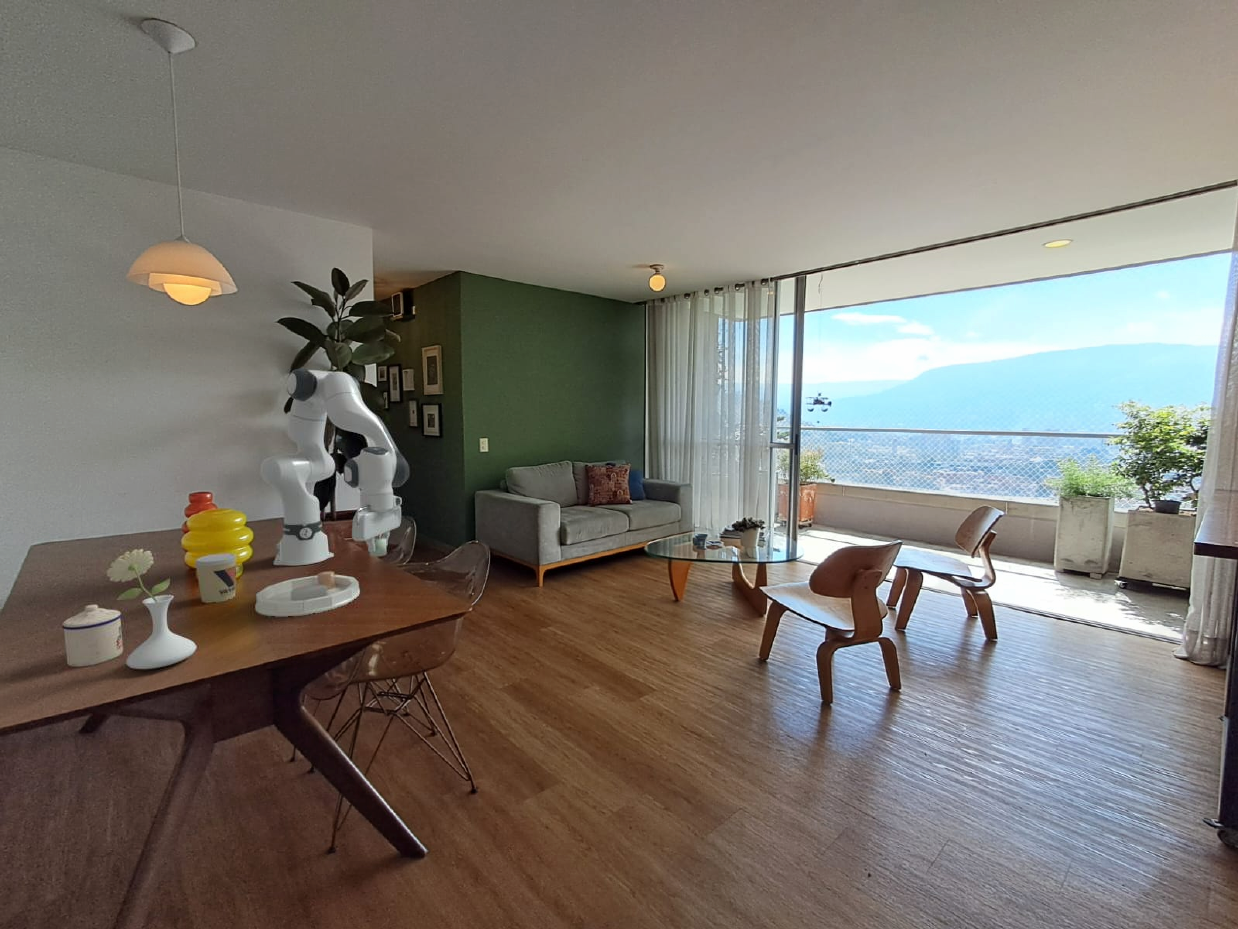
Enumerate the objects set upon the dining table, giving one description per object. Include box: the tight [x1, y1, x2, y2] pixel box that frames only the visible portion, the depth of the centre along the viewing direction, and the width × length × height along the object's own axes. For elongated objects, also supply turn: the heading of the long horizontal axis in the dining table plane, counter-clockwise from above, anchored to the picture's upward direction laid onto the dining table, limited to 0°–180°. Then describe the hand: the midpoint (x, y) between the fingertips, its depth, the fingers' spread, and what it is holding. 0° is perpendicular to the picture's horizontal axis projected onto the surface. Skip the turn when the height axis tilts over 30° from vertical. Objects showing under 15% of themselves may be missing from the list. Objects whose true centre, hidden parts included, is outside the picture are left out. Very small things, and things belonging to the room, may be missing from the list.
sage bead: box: [369, 537, 388, 557], centre depth 158 cm, size 4×4×4 cm
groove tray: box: [254, 574, 361, 618], centre depth 151 cm, size 26×26×4 cm
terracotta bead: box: [317, 570, 336, 590], centre depth 159 cm, size 4×4×4 cm
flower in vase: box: [106, 548, 197, 670], centre depth 112 cm, size 13×11×25 cm
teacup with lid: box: [61, 604, 124, 668], centre depth 115 cm, size 12×9×12 cm
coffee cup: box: [194, 553, 237, 604], centre depth 152 cm, size 9×9×12 cm
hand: (378, 548), depth 158 cm, fingers closed on sage bead, 4 cm apart
